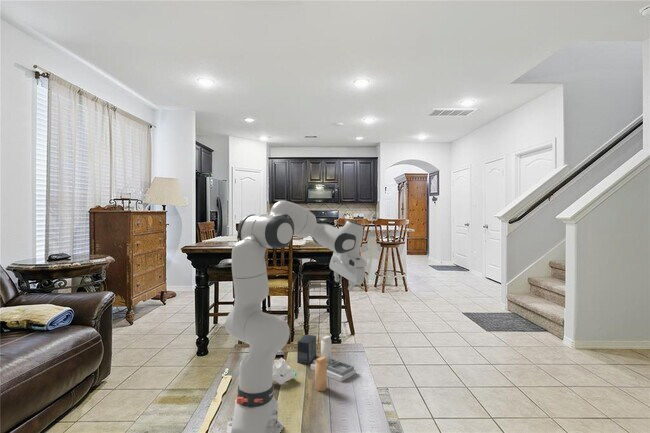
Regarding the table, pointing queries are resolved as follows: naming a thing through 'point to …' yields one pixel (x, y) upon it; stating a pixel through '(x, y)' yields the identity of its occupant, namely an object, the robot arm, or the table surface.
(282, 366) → the partial skull model
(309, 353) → the small box
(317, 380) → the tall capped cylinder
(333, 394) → the table surface
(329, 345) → the grey base with column
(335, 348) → the table surface
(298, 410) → the table surface
